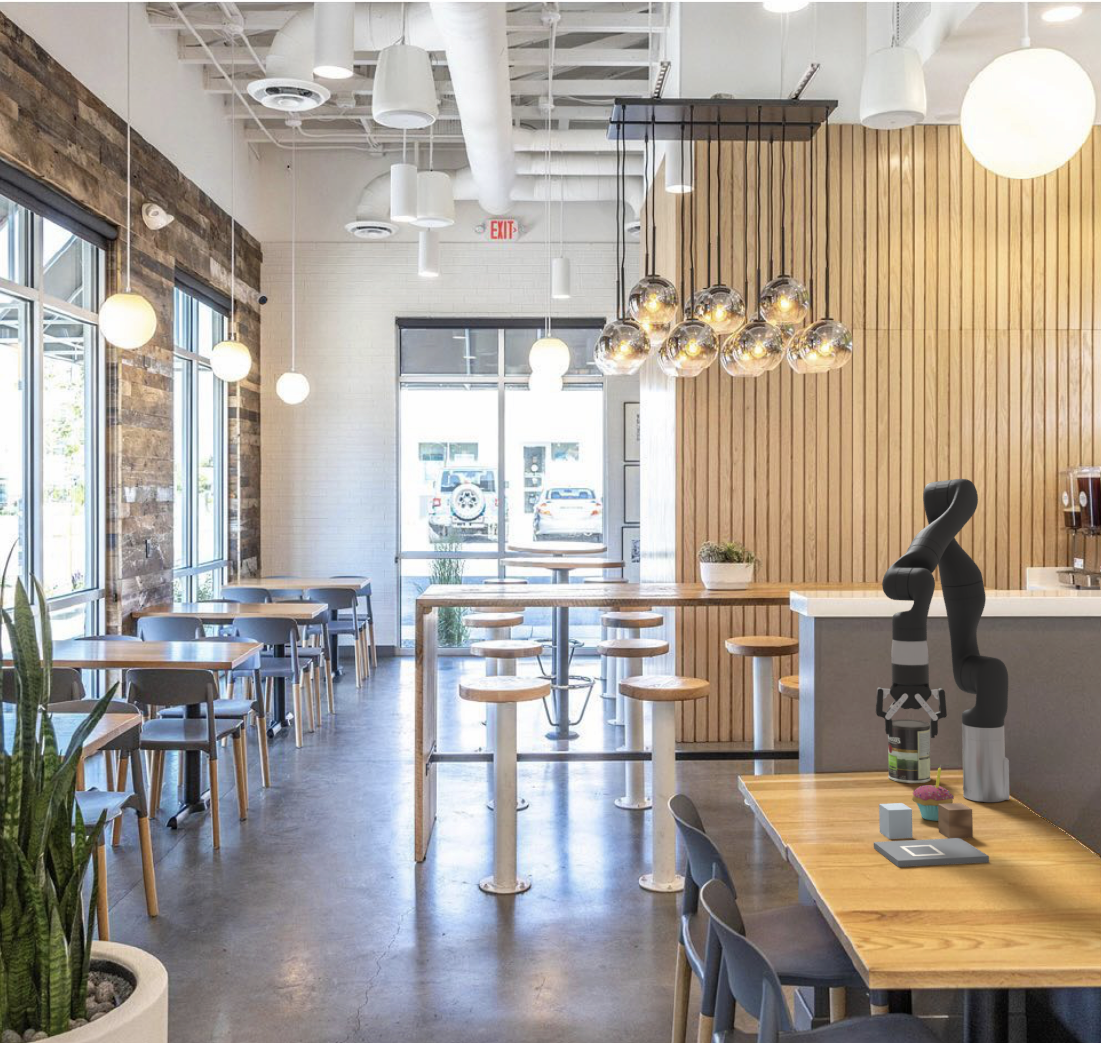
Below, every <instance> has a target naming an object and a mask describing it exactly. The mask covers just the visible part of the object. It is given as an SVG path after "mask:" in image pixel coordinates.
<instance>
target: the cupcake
mask: <svg viewBox="0 0 1101 1043" xmlns="http://www.w3.org/2000/svg"><path fill="white" fill-rule="evenodd" d="M941 767H942V764H940V765H939V767H938V768H937V774H936V780H935V781H936V782H935V784H934V785H933V784H930V785H929V784H926V785H925V784H924V785H920V786H918V787H917V788H915V789H914V790H913V792H912V798H911V801H913V802H914V803H916V806H917V807H918V809H919V813H920V815H921V818H923V819H924V820H928V821H938V804H948V803H954V802H953V800H954V795H953V794H952V793H951V791H949V790H948V789H947V788H945V787H944V786H941V785H940V782H941V781H940V780H941V773H942V768H941Z"/></svg>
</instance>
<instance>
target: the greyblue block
mask: <svg viewBox="0 0 1101 1043" xmlns="http://www.w3.org/2000/svg"><path fill="white" fill-rule="evenodd" d="M878 806H879V808H878V809H879V810H878V813H879V815H878V818H879V819H878V820H879V833H880V834H882V835H883V836H884V837H885V838H887V839H888V840H898V839H899V840H900V839H913V834H914V833H913V809H912V808H911V807H909V806H908V805H906V804H904V803H903V802H898V803H897V802H894V803H879V804H878Z"/></svg>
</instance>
